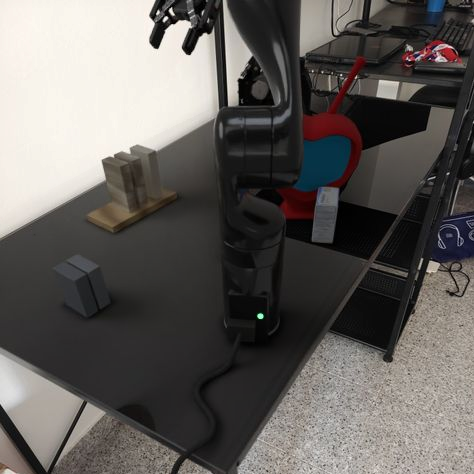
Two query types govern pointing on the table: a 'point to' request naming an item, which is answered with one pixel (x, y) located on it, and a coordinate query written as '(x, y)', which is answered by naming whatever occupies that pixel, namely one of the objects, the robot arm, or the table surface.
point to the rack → (126, 194)
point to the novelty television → (324, 155)
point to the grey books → (82, 285)
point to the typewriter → (258, 90)
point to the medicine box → (325, 215)
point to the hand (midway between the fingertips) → (169, 49)
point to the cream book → (149, 170)
